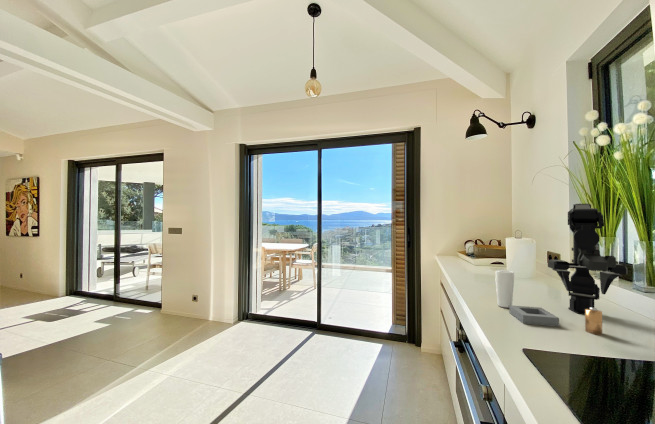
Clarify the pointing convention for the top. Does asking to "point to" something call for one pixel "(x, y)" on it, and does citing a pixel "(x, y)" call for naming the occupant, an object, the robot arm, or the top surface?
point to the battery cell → (593, 321)
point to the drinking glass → (504, 287)
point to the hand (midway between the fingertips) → (585, 292)
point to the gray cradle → (534, 316)
